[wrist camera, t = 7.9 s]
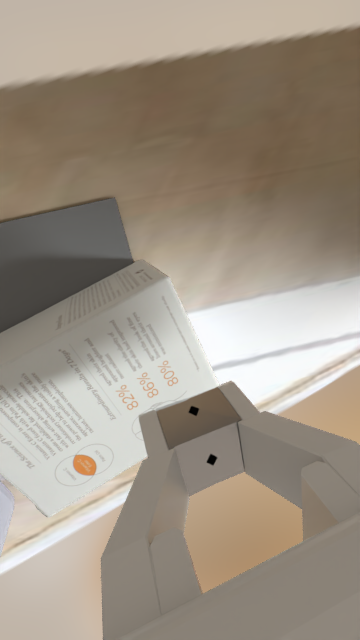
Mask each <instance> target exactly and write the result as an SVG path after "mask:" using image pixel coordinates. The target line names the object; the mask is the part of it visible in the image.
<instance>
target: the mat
mask: <svg viewBox="0 0 360 640" xmlns="http://www.w3.org/2000/svg"><path fill="white" fill-rule="evenodd" d="M131 264H133V259H132V256H131V252H130V249H129V245H128V242H127V238H126V235H125V231H124V228H123V224H122V220H121V217H120V213H119V210H118V206H117V203H116V199H115V198H110V199H106V200H102V201H97V202H93V203H88V204H84V205H79V206H75V207H70V208H66V209H61V210H57V211H52V212H48V213H43V214H39V215H34V216H30V217H25V218H21V219H16V220H12V221H7V222H3V223H0V333H1V332H3V331H5V330H7V329H9V328H11V327H13V326H15V325H17V324H19V323H21V322H23V321H25V320H27V319H29V318H30V317H32V316H34V315H36V314H38V313H40V312H42V311H44V310H45V309H47V308H49V307H51V306H53V305H55V304H57V303H59V302H60V301H62V300H64V299H66V298H68V297H70V296H72V295H74V294H76V293H78V292H79V291H81V290H83V289H85V288H87V287H89V286H91V285H93V284H95V283H97V282H98V281H100V280H102V279H104V278H106V277H108V276H110V275H112V274H114V273H116V272H118V271H119V270H121V269H123V268H125V267H127V266H129V265H131Z"/></svg>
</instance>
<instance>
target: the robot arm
mask: <svg viewBox="0 0 360 640" xmlns="http://www.w3.org/2000/svg"><path fill="white" fill-rule="evenodd" d="M155 410H156V411H155ZM155 410H152V411H149V412H146V413H143V414H140V415H139V423H140V427H141V431H142V435H143V439H144V444H145V448H146V452H147V456H148V459H146V460H143V461H142V464H141V466H140V468H139V471H138V473H137V475H136V478H135V480H134V482H133V485H132V487H131V489H130V492H129V494H128V496H127V499H126V501H125V503H124V506H123V508H122V510H121V513H120V515H119V518H118V520H117V522H116V525H115V527H114V529H113V532H112V534H111V536H110V539H109V541H108V543H107V546H106V548H105V550H104V553H103V555H102V557H101V581H102V621H103V640H360V445H359V444H358V443H357V442H355V441H352V440H349V439H346V438H343V437H340V436H337V435H335V434H332V433H329V432H326V431H323V430H320V429H317V428H314V427H311V426H308V425H305V424H302V423H299V422H296V421H293V420H290V419H287V418H284V417H281V416H278V415H275V414H272V413H269V412H266V411H264V412H262V413H260V412H259V411H258V409H257V408H256V407H255V406H254V405H253V404H252V403H251V401H250V400H249V399H248V398H247V397H246V396H245V395H244V393H243V392H242V391H241V390H240V389H239V388H238V387H237V385H236V384H235V383H234V382H232V381H229V382H226V383H224V384H221V385H219V386H216V387H215V388H212V389H210V390H207V391H204V392H202V393H199V394H196V395H194V396H191V397H189V398H185V399H183V400H180V401H177V402H174V403H171V404H168V405H165V406H162V407H160V408H157V409H155ZM156 413H157V414H156ZM242 472H246V474H248V475H250V476H251V477H253V478H254V479H256V480H257V481H259V482H260V483H262V484H264V485H265V486H267V487H268V488H270V489H271V490H273V491H274V492H276V493H278V494H279V495H281V496H282V497H284V498H285V499H287V500H289V501H290V502H292V503H293V504H295V505H296V506H298V507H300V508H301V509H302V514H303V515H302V516H303V542H301V543H299V544H297V545H295V546H293V547H291V548H289V549H288V550H285V551H284V552H282V553H280V554H278V555H276V556H274V557H272V558H270V559H268V560H266V561H265V562H263V563H261V564H259V565H257V566H255V567H253V568H251V569H249V570H247V571H245V572H243V573H242V574H240V575H238V576H236V577H234V578H232V579H230V580H228V581H226V582H224V583H222V584H221V585H219V586H217V587H215V588H213V589H211V590H209V591H207V592H205V593H202V590H201V586H200V583H199V580H198V577H197V574H196V571H195V568H194V565H193V562H192V559H191V556H190V553H189V550H188V547H187V544H186V541H185V538H184V528H185V522H186V516H187V510H188V504H189V496H191V495H193V494H195V493H197V492H199V491H201V490H203V489H205V488H207V487H210V486H211V485H214V484H216V483H218V482H220V481H223V480H225V479H228V478H230V477H233V476H235V475H237V474H240V473H242Z"/></svg>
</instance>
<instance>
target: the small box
mask: <svg viewBox="0 0 360 640" xmlns="http://www.w3.org/2000/svg"><path fill="white" fill-rule="evenodd" d="M216 386H219V382H218V380H217V378H216V376H215V374H214V372H213V370H212V367H211V365H210V363H209V361H208V359H207V356H206V354H205V352H204V350H203V348H202V346H201V344H200V341H199V339H198V337H197V335H196V333H195V331H194V329H193V327H192V324H191V322H190V320H189V318H188V316H187V313H186V311H185V309H184V307H183V305H182V303H181V300H180V298H179V296H178V294H177V292H176V290H175V288H174V286H173V284H172V281H171V279H170V277H169V276H167V275H166V274H164V273H162V272H161V271H159V270H158V269H156V268H155V267H153V266H152V265H150V264H149V263H147V262H146V261H144V260H138V261H136V262H134V263H133V264H131V265H129V266H127V267H125V268H123V269H121V270H119V271H118V272H116V273H114V274H112V275H110V276H108V277H106V278H104V279H102V280H100V281H98V282H97V283H95V284H93V285H91V286H89V287H87V288H85V289H83V290H81V291H79V292H78V293H76V294H74V295H72V296H70V297H68V298H66V299H64V300H62V301H60V302H59V303H57V304H55V305H53V306H51V307H49V308H47V309H45V310H44V311H42V312H40V313H38V314H36V315H34V316H32V317H30V318H29V319H27V320H25V321H23V322H21V323H19V324H17V325H15V326H13V327H11V328H9V329H7V330H5V331H3V332H1V333H0V474H1V475H2V476H3V477H4V478H5V479H6V480H8V481H9V482H10V483H11V484H12V485H13V486H15V487H16V488H17V489H18V490H19V491H20V492H21V493H22V494H24V495H25V496H26V497H27V498H28V499H29V500H31V501H32V502H33V503H34V504H35V506H36V508H37V509H38V510H39V511H40V512H41V513H42V514H43V515H45V516H46V517H51V516H53V515H54V514H56V513H57V512H59V511H61V510H62V509H64V508H65V507H67V506H69V505H70V504H72V503H74V502H75V501H77V500H78V499H80V498H82V497H83V496H85V495H86V494H88V493H90V492H91V491H93V490H94V489H96V488H98V487H99V486H101V485H102V484H104V483H106V482H107V481H109V480H111V479H112V478H114V477H116V476H117V475H119V474H120V473H122V472H123V471H125V470H127V469H128V468H130V467H132V466H133V465H135V464H136V463H138V462H140V461H141V460H143V459H144V458H146V457H147V452H146V448H145V444H144V439H143V435H142V431H141V427H140V423H139V415H140V414H143V413H146V412H149V411H152V410H155V409H157V408H160V407H162V406H165V405H168V404H171V403H174V402H177V401H180V400H183V399H185V398H189V397H191V396H194V395H196V394H199V393H202V392H204V391H207V390H210V389H212V388H215V387H216ZM155 411H156V410H155ZM156 414H157V413H156Z"/></svg>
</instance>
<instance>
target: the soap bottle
mask: <svg viewBox="0 0 360 640" xmlns="http://www.w3.org/2000/svg"><path fill="white" fill-rule="evenodd" d="M13 510H14V497H13V494H12V493H11V492H10V491H9V490H8V489H7V488H6V486H5V485H4V484H3V483H2V482H1V481H0V556H1V552H2V549H3V545H4V542H5V538H6V535H7V531H8V528H9V524H10V521H11V517H12V513H13Z"/></svg>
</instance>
